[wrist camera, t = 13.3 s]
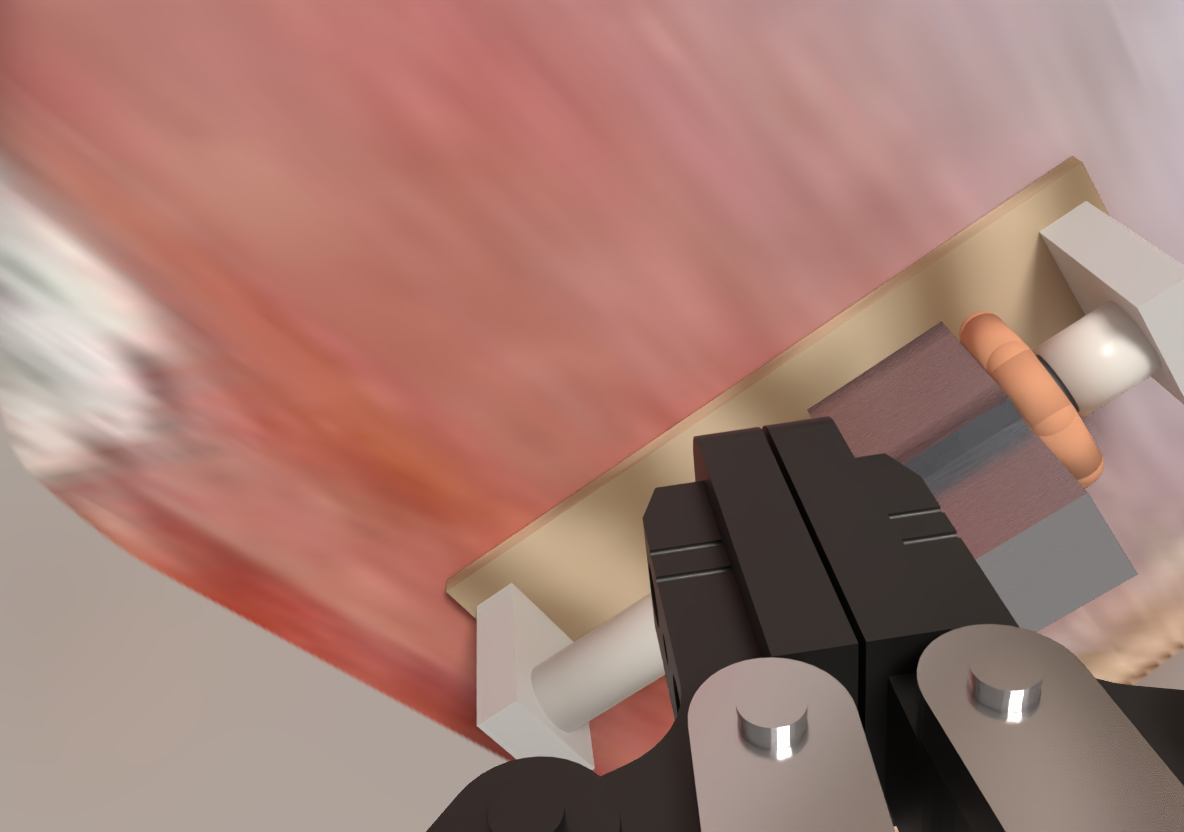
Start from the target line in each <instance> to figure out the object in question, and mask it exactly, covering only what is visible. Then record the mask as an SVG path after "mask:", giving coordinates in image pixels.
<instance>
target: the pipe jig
mask: <svg viewBox="0 0 1184 832" xmlns="http://www.w3.org/2000/svg"><path fill="white" fill-rule="evenodd" d="M1039 233H1040V234H1041V236H1042V238H1043V240H1044V242H1045V243H1046V245H1047V247H1048V249H1049V251H1050V252H1051V254H1052V256H1053V258H1054V260H1055V261H1056V263H1057V265H1058V267H1059V269H1060V271H1061V272H1062V274H1063V276H1064V278H1065V280H1066V281H1067V283H1068V285H1069V287H1070V289H1071V290H1072V292H1073V294H1074V296H1075V298H1076V299H1077V301H1078V303H1079V305H1080V307H1081V309H1082V310H1083V312H1084V314H1085V316H1084V317H1082V318H1081V319H1079V320H1078V321H1076V322H1075V323H1073V324H1071V325H1070V326H1068V327H1067V328H1065V329H1064V330H1062V331H1060V332H1059V333H1057V334H1056V335H1054V336H1053V337H1051V338H1049V339H1048V340H1046V341H1045V342H1043V343H1042V344H1040V345H1039V346H1037V347H1035V348H1034V349H1033V353H1034V354H1035V355H1036V357H1037V358H1038V359H1039V361H1040V362H1041V363H1042V365H1043V366H1044V367H1045V369H1046V370H1047V371H1048V373H1049V374H1050V375H1051V377H1052V378H1053V379H1054V381H1055V382H1056V383H1057V385H1058V386H1059V387H1060V389H1061V390H1062V391H1063V393H1064V394H1065V395H1066V397H1067V398H1068V399H1069V401H1070V402H1071V403H1072V405H1073V406H1074V408H1075V409H1076V411H1077V413H1078V414H1079V416H1081V417H1082V418H1084V417H1085V416H1087V415H1088V414H1090V413H1092V412H1093V411H1095V410H1097V409H1098V408H1100V407H1101V406H1103V405H1105V404H1106V403H1108V402H1110V401H1111V400H1113V399H1115V398H1116V397H1118V396H1119V395H1121V394H1123V393H1124V392H1126V391H1128V390H1129V389H1131V388H1132V387H1134V386H1136V385H1137V384H1139V383H1141V382H1142V381H1144V380H1145V379H1147V378H1149V377H1150V376H1151V377H1152V378H1154V379H1155V380H1156V381H1157V382H1158V383H1159V384H1161V385H1162V386H1163V387H1164V388H1165V389H1166V390H1168V391H1169V392H1170V393H1171V394H1172V395H1173V396H1175V397H1176V398H1177V399H1178V400H1179V401H1180V402H1182V403H1183V404H1184V265H1182V264H1181V263H1179V262H1178V261H1176V260H1175V259H1173V258H1172V257H1170V256H1169V255H1167V254H1166V253H1164V252H1163V251H1161V250H1160V249H1158V248H1157V247H1155V246H1154V245H1152V244H1151V243H1149V242H1148V241H1146V240H1145V239H1143V238H1142V237H1140V236H1139V235H1137V234H1136V233H1134V232H1133V231H1131V230H1130V229H1128V228H1127V227H1125V226H1124V225H1122V224H1120V223H1119V222H1117V221H1116V220H1114V219H1113V218H1111V217H1110V216H1108V215H1107V214H1105V213H1104V212H1102V211H1101V210H1099V209H1098V208H1096V207H1095V206H1093V205H1092V204H1090V203H1089V202H1087V201H1085V202H1083V203H1082V204H1080V205H1079V206H1077V207H1076V208H1074V209H1073V210H1071V211H1070V212H1068V213H1067V214H1065V215H1064V216H1062V217H1061V218H1059V219H1058V220H1056V221H1055V222H1053V223H1052V224H1050V225H1049V226H1047V227H1046V228H1044V229H1043V230H1041V231H1040V232H1039ZM664 675H665V671H664V666H663V660H662V657H661V652H660V648H659V643H658V638H657V634H656V629H655V624H654V615H653V606H652V597H651V593H650V594H648V595H647V596H645V597H644V598H642V599H640V600H639V601H637V602H636V603H634V604H633V605H631V606H630V607H628V608H626V609H625V610H623V611H622V612H620V613H619V614H617V615H615V616H614V617H612V618H611V619H609V620H608V621H606V622H604V623H603V624H601V625H600V626H598V627H597V628H595V629H593V630H592V631H590V632H589V633H587V634H586V635H584V636H582V637H581V638H579V639H578V640H576V641H575V642H573V641H572V640H571V639H570V638H569V637H568V636H567V635H566V634H565V633H564V632H563V631H562V630H561V629H560V628H559V627H558V626H557V625H556V624H555V623H553V622H552V621H551V620H550V619H549V618H548V617H547V616H546V615H545V614H544V613H543V612H542V611H541V610H540V609H539V608H538V607H537V606H536V605H535V604H534V603H533V602H532V601H530V600H529V599H528V598H527V597H526V596H525V595H524V594H523V593H522V592H521V591H520V590H519V589H518V588H517V587H516V586H515V585H514V584H513V583H511V584H509V585H508V586H506V587H505V588H503V589H502V590H500V591H499V592H497V593H496V594H494V595H493V596H491V597H490V598H488V599H487V600H485V601H484V602H482V603H481V604H479V605H478V606H477V726H478V727H479V728H480V729H481V730H482V731H484V732H485V733H486V734H487V735H488V736H489V737H491V738H492V739H493V740H494V741H495V742H497V743H498V744H499V745H500V746H501V747H502V748H504V749H505V750H506V751H507V752H508V753H510V754H511V755H512V756H513V757H514V758H515V759H521V758H527V757H536V756H545V757H557V758H563V759H567V760H570V761H573V762H576V763H579V764H581V765H583V766H585V767H587V768H589V769H591V770H593V769H595V768H594V760H593V752H592V743H591V735H590V727H589V721H590V720H592V719H594V718H595V717H597V716H598V715H600V714H602V713H603V712H605V711H607V710H608V709H610V708H611V707H613V706H615V705H616V704H618V703H620V702H621V701H623V700H624V699H626V698H628V697H629V696H631V695H633V694H634V693H636V692H638V691H639V690H641V689H642V688H644V687H646V686H647V685H649V684H651V683H652V682H654V681H655V680H657V679H659V678H660V677H662V676H664Z"/></svg>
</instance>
